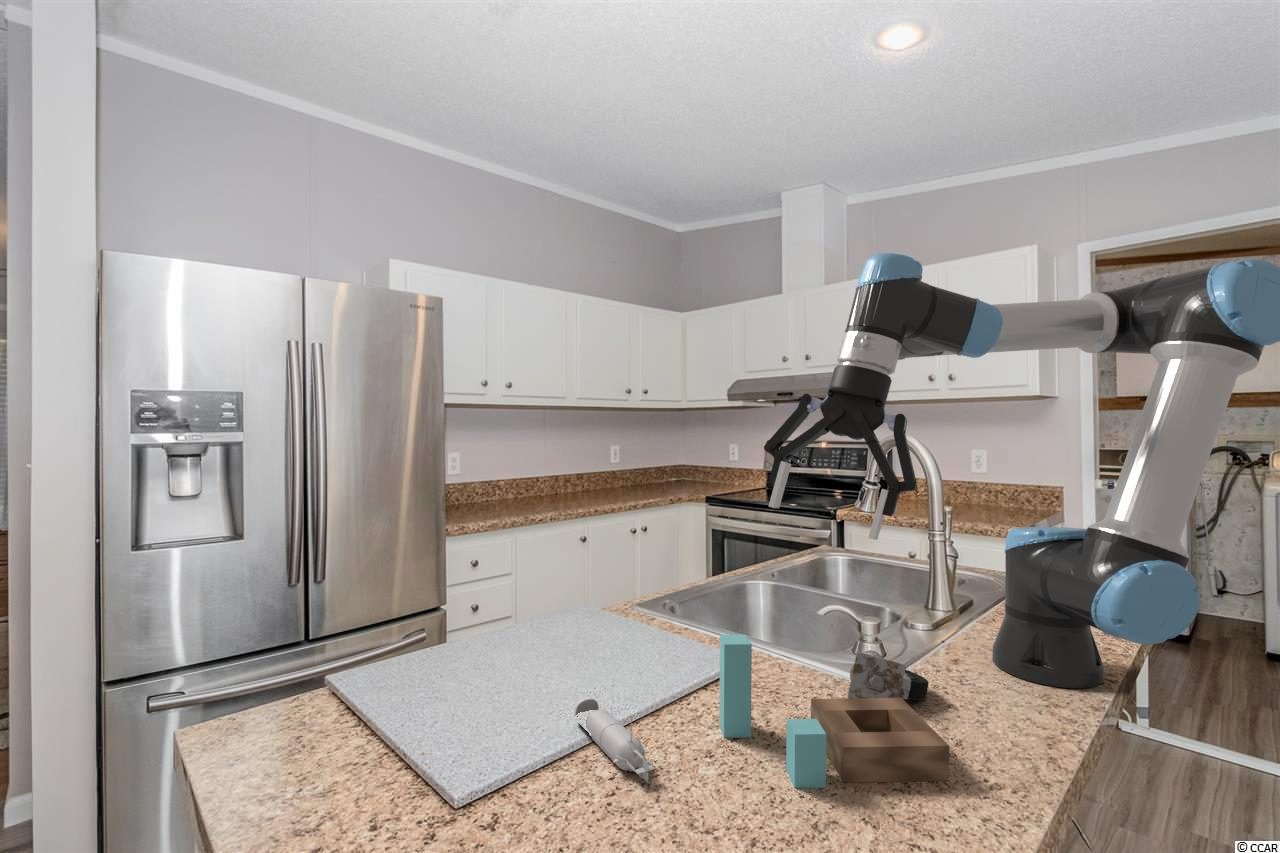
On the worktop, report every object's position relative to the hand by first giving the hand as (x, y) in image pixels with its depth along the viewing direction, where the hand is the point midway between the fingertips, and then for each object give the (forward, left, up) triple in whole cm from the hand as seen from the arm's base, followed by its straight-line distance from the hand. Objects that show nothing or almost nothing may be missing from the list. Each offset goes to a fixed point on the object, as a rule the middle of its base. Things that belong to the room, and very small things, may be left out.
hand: (821, 522), depth 85 cm
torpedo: (+28, +7, -27) cm, 40 cm away
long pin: (+12, +3, -27) cm, 29 cm away
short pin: (+6, +14, -27) cm, 31 cm away
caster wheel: (-12, -7, -27) cm, 30 cm away
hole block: (-4, +9, -27) cm, 28 cm away
